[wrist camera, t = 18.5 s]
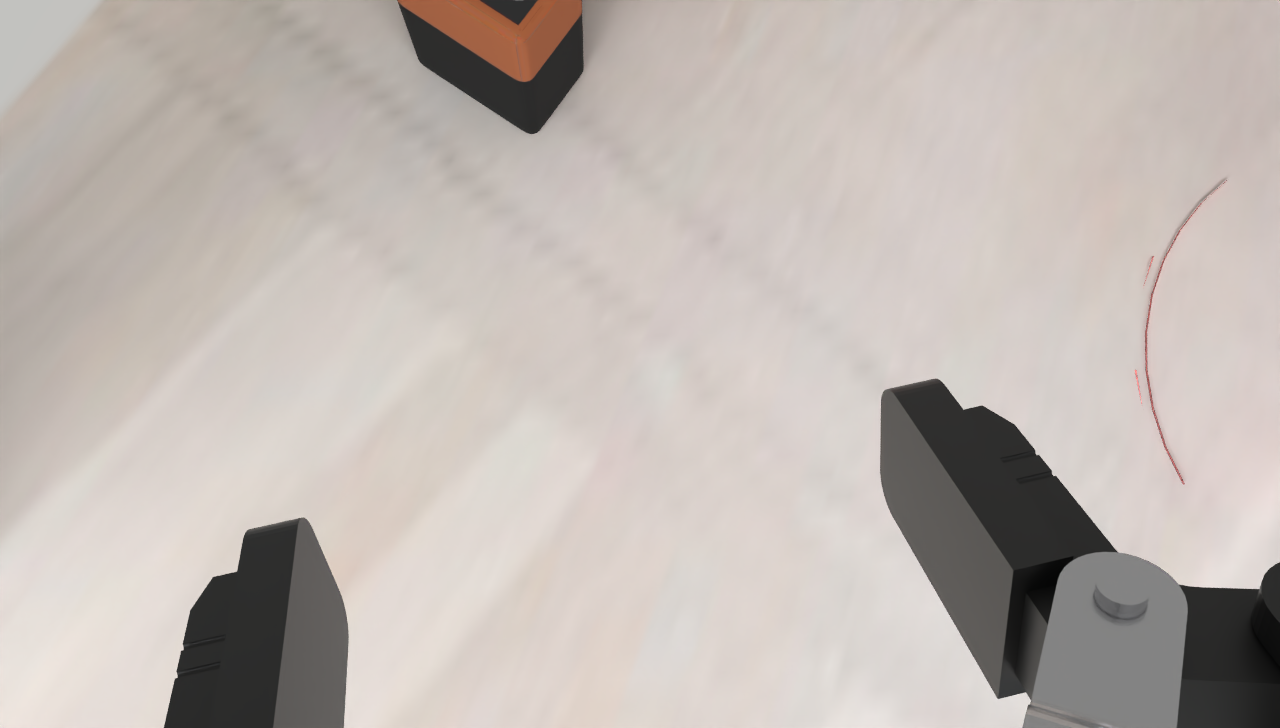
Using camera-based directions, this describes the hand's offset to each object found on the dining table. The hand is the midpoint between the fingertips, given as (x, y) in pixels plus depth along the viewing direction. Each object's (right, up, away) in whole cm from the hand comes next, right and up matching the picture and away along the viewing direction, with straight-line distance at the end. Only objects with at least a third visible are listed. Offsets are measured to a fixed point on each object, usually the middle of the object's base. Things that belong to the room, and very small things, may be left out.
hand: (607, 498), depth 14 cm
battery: (-6, +16, +34) cm, 38 cm away
